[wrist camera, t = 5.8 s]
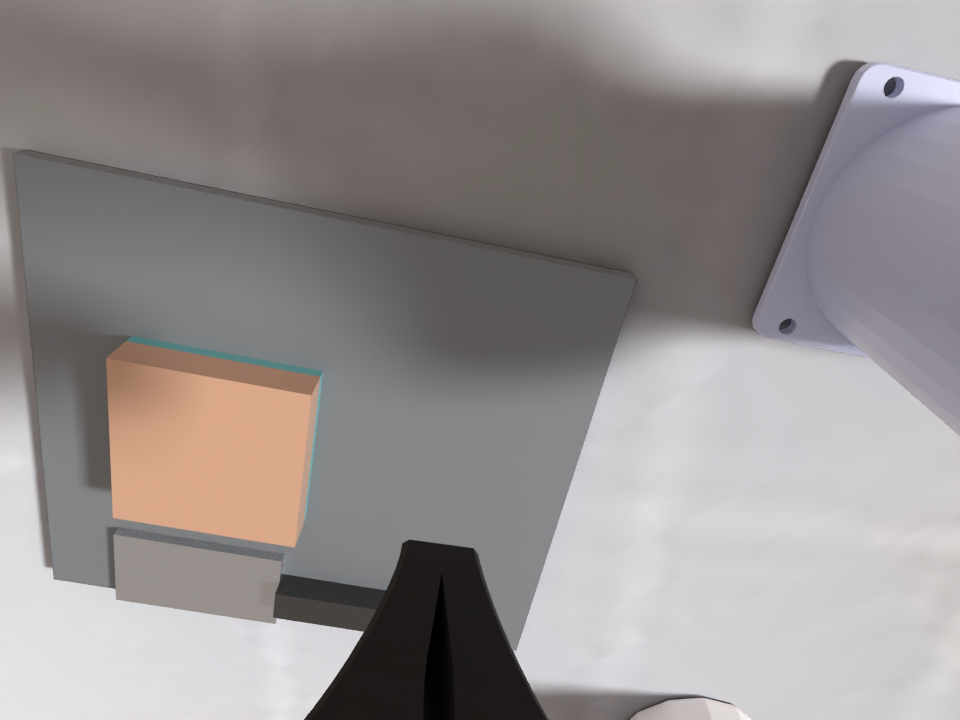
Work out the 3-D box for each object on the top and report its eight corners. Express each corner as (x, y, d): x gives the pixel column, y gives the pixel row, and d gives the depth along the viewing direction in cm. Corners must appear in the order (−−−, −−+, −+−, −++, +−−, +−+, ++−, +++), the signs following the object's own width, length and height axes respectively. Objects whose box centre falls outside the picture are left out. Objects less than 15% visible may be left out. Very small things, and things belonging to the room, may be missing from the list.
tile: (311, 395, 20) (106, 358, 20) (294, 547, 23) (112, 518, 22) (323, 370, 22) (131, 335, 21) (306, 516, 24) (135, 488, 24)
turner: (470, 583, 26) (469, 604, 25) (454, 642, 27) (453, 663, 26) (119, 526, 25) (104, 545, 24) (121, 591, 26) (107, 611, 25)
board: (632, 273, 21) (636, 280, 20) (515, 638, 28) (516, 650, 27) (26, 149, 19) (13, 153, 19) (62, 567, 26) (53, 579, 26)
